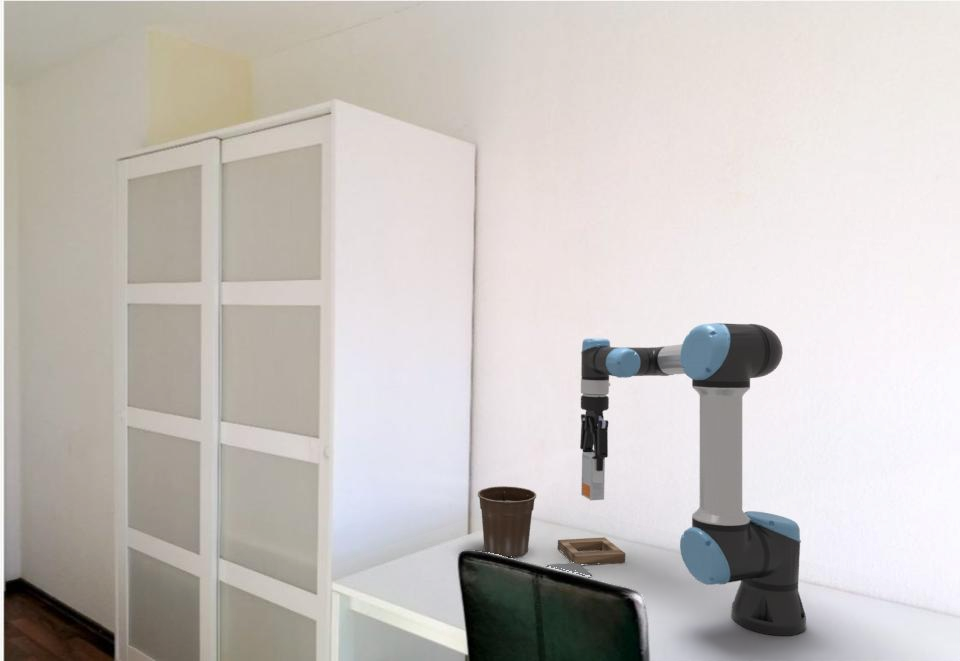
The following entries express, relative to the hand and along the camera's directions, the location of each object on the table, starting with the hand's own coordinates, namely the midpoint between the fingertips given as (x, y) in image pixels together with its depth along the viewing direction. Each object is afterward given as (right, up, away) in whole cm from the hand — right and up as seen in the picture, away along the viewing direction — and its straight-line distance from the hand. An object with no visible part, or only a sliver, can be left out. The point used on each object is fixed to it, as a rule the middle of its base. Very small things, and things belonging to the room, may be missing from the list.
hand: (592, 479), depth 201 cm
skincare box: (0, -5, 0) cm, 5 cm away
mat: (-8, -21, -12) cm, 26 cm away
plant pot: (-24, -21, +3) cm, 32 cm away
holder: (-1, -21, +1) cm, 21 cm away
